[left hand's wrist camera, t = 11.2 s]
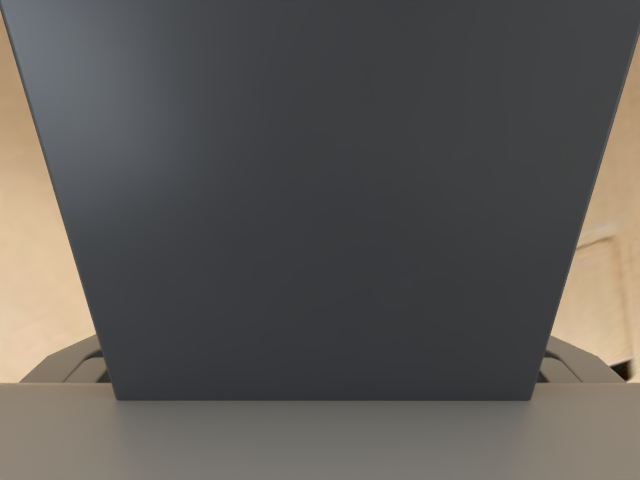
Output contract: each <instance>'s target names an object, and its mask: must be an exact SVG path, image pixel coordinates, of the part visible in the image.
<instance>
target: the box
mask: <svg viewBox="0 0 640 480" xmlns="http://www.w3.org/2000/svg"><path fill="white" fill-rule="evenodd" d="M0 10H1V13H2V17H3V20H4V23H5V27H6V30H7V34H8V37H9V40H10V44H11V47H12V50H13V54H14V57H15V61H16V64H17V67H18V71H19V74H20V77H21V81H22V84H23V88H24V91H25V94H26V98H27V101H28V104H29V108H30V111H31V115H32V118H33V121H34V125H35V128H36V131H37V135H38V138H39V142H40V145H41V148H42V152H43V155H44V158H45V162H46V165H47V169H48V172H49V175H50V179H51V182H52V185H53V189H54V192H55V195H56V199H57V202H58V206H59V209H60V212H61V216H62V219H63V222H64V226H65V229H66V233H67V236H68V239H69V243H70V246H71V249H72V253H73V256H74V260H75V263H76V266H77V270H78V273H79V276H80V280H81V283H82V287H83V290H84V293H85V297H86V300H87V303H88V307H89V310H90V314H91V317H92V320H93V324H94V327H95V330H96V334H97V337H98V341H99V344H100V347H101V351H102V354H103V357H104V361H105V364H106V368H107V371H108V374H109V378H110V381H111V384H112V388H113V391H114V395H115V398H116V400H119V401H529V400H531V398H532V394H533V391H534V388H535V384H536V381H537V377H538V374H539V371H540V367H541V364H542V361H543V357H544V354H545V350H546V347H547V344H548V340H549V337H550V334H551V330H552V327H553V323H554V320H555V317H556V313H557V310H558V307H559V303H560V300H561V296H562V293H563V290H564V286H565V283H566V280H567V276H568V273H569V269H570V266H571V263H572V259H573V256H574V253H575V249H576V246H577V243H578V239H579V236H580V232H581V229H582V226H583V222H584V219H585V216H586V212H587V209H588V205H589V202H590V199H591V195H592V192H593V189H594V185H595V182H596V178H597V175H598V172H599V168H600V165H601V162H602V158H603V155H604V151H605V148H606V145H607V141H608V138H609V135H610V131H611V128H612V125H613V121H614V118H615V114H616V111H617V108H618V104H619V101H620V98H621V94H622V91H623V87H624V84H625V81H626V77H627V74H628V71H629V67H630V64H631V60H632V57H633V54H634V50H635V47H636V44H637V40H638V37H639V33H640V0H0Z"/></svg>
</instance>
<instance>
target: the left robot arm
mask: <svg viewBox="0 0 640 480" xmlns="http://www.w3.org/2000/svg"><path fill="white" fill-rule="evenodd" d="M0 480H640V383H626V382H625V381H624V380H623V379H622V378H621V377H620V376H619V375H618V374H616V373H615V372H614V371H613V370H612V369H611V368H610V367H609V366H608V365H606V364H605V363H604V362H603V361H602V360H601V359H600V358H599V357H597V356H595V355H593V354H591V353H589V352H586V351H584V350H582V349H580V348H577V347H575V346H573V345H571V344H569V343H566V342H564V341H562V340H560V339H558V338H555V337H553V336H551V335H550V337H549V340H548V344H547V347H546V350H545V354H544V357H543V361H542V364H541V367H540V371H539V374H538V377H537V381H536V384H535V388H534V391H533V394H532V398H531V400H529V401H119V400H116V398H115V395H114V391H113V388H112V384H111V381H110V378H109V374H108V371H107V368H106V364H105V361H104V357H103V354H102V351H101V347H100V344H99V341H98V337H97V334H95V335H93V336H91V337H89V338H87V339H84V340H82V341H80V342H78V343H76V344H73V345H71V346H69V347H67V348H65V349H62V350H60V351H58V352H56V353H54V354H51V355H49V356H47V357H46V358H45V359H44V360H43V361H42V362H41V363H40V364H39V365H37V366H36V367H35V368H34V369H33V370H32V371H31V372H30V373H29V374H28V375H26V376H25V377H24V378H23V379H22V380H21V381H20V382H19V383H0Z"/></svg>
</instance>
